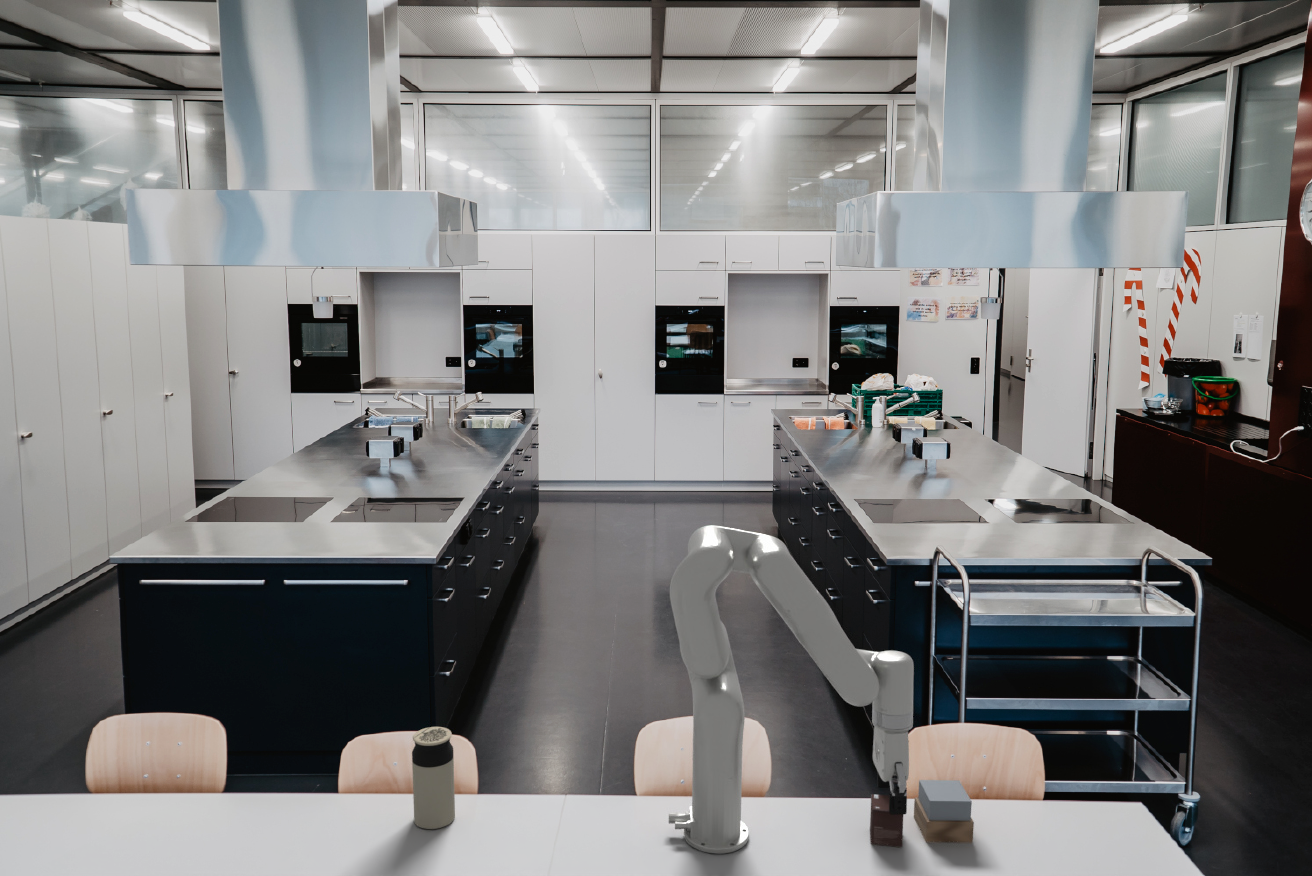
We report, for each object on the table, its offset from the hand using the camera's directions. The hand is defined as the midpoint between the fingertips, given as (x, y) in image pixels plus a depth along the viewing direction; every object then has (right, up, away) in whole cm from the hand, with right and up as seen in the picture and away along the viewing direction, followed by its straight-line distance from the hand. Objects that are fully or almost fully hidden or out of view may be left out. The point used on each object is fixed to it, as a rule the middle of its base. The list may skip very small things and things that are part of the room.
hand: (891, 799), depth 184 cm
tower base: (+11, -8, +4) cm, 14 cm away
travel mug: (-90, -7, +6) cm, 90 cm away
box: (-1, -8, +1) cm, 8 cm away
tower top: (+11, -3, +4) cm, 12 cm away
